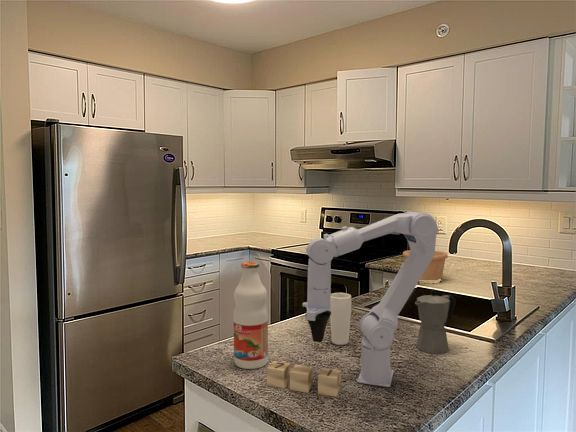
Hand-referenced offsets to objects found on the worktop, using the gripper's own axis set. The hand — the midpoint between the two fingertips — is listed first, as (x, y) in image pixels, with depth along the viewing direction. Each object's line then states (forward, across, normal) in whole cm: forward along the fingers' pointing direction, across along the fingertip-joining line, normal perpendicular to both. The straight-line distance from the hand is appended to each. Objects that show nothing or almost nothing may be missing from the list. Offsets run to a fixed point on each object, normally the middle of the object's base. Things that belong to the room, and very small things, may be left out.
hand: (317, 340), depth 108 cm
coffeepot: (+10, -33, +28) cm, 44 cm away
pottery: (+9, -128, +21) cm, 130 cm away
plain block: (+11, +4, -3) cm, 12 cm away
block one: (+10, +4, +4) cm, 12 cm away
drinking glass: (+10, -28, 0) cm, 30 cm away
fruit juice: (+11, -5, -20) cm, 24 cm away
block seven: (+11, +4, -9) cm, 14 cm away
